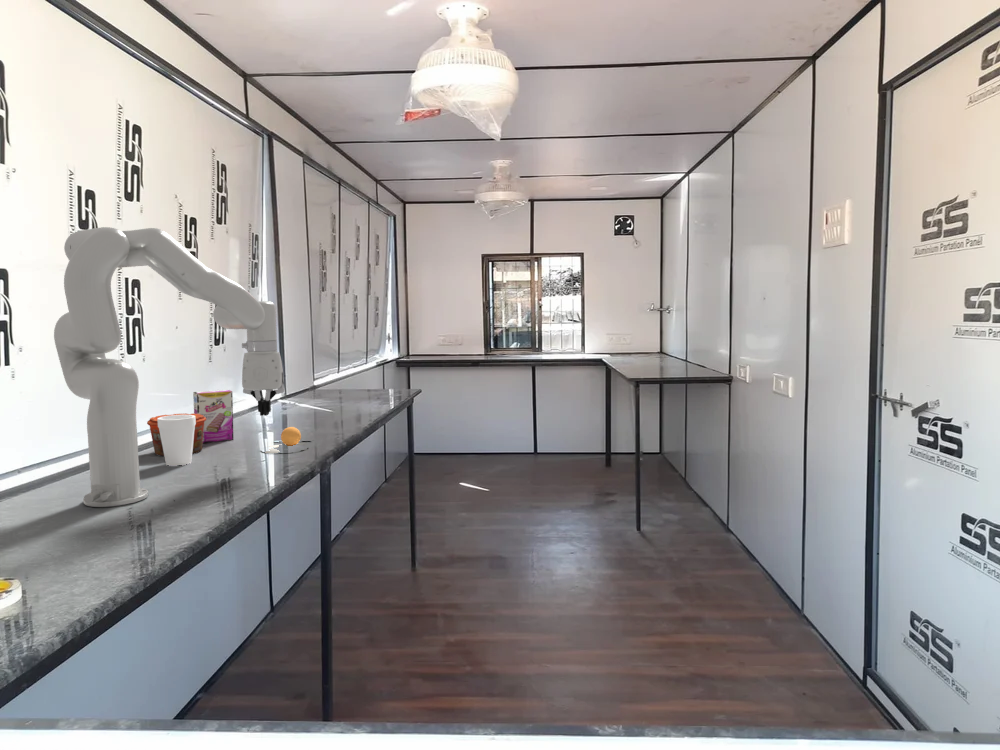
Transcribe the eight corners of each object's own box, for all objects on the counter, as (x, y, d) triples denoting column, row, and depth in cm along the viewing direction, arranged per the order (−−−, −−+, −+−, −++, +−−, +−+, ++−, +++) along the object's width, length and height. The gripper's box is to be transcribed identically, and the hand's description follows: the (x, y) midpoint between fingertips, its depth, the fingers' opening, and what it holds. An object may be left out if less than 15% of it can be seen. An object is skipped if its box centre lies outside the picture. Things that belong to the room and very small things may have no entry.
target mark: (303, 453, 198) (303, 452, 198) (255, 454, 197) (255, 453, 197) (312, 444, 212) (312, 443, 212) (267, 445, 211) (267, 444, 211)
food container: (179, 459, 191) (177, 422, 190) (136, 455, 196) (134, 419, 195) (219, 448, 206) (217, 414, 205) (178, 445, 211) (176, 411, 210)
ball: (303, 427, 213) (302, 446, 212) (284, 427, 212) (283, 446, 212) (298, 426, 207) (297, 446, 206) (278, 426, 207) (278, 446, 206)
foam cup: (204, 460, 190) (201, 414, 188) (185, 467, 181) (183, 420, 179) (172, 459, 191) (170, 414, 189) (152, 467, 182) (149, 419, 180)
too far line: (311, 441, 216) (311, 441, 216) (273, 442, 215) (273, 441, 215) (312, 440, 218) (312, 440, 218) (275, 441, 217) (275, 440, 217)
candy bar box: (198, 444, 213) (196, 393, 211) (194, 441, 217) (192, 391, 215) (234, 439, 220) (232, 390, 218) (229, 437, 224) (227, 389, 222)
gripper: (229, 348, 175) (232, 417, 177) (287, 348, 177) (289, 416, 178) (237, 346, 183) (240, 413, 185) (293, 346, 184) (295, 412, 186)
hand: (264, 414), depth 182 cm, fingers closed
